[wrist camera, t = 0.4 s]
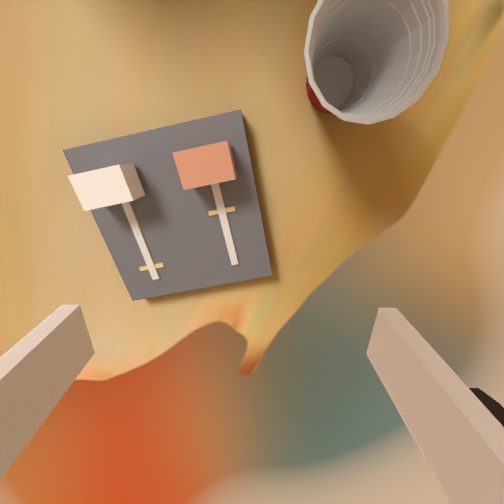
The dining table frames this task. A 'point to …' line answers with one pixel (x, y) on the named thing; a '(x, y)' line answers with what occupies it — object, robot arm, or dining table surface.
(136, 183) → the fader
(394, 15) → the plastic cup
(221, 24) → the dining table surface
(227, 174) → the fader
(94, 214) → the slider panel
